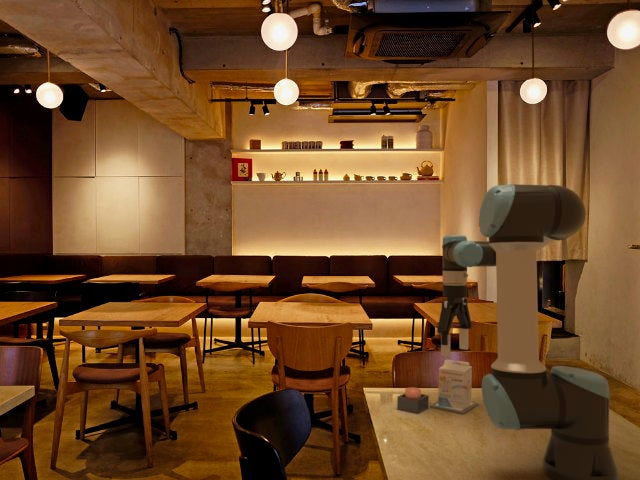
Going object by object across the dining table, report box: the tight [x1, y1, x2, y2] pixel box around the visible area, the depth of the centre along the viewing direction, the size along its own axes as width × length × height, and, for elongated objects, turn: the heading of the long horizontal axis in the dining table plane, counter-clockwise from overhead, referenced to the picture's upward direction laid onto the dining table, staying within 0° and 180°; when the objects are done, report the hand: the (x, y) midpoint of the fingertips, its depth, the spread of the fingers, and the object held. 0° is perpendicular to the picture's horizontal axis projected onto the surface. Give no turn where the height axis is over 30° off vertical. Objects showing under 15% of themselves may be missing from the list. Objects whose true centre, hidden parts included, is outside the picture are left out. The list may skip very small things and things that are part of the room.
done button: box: [404, 386, 422, 400], centre depth 166 cm, size 5×5×4 cm
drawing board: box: [429, 401, 480, 416], centre depth 169 cm, size 12×11×1 cm
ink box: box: [437, 358, 473, 409], centre depth 169 cm, size 9×8×13 cm
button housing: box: [396, 392, 430, 415], centre depth 166 cm, size 7×7×4 cm
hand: (455, 352), depth 169 cm, fingers open, 13 cm apart
